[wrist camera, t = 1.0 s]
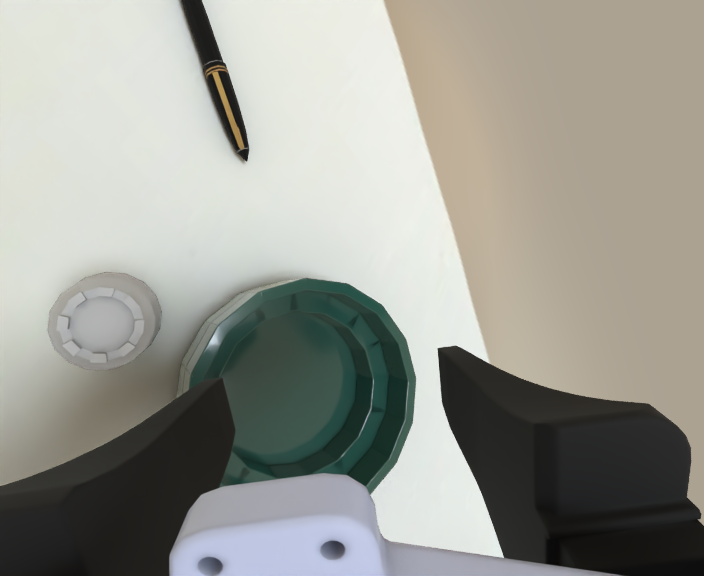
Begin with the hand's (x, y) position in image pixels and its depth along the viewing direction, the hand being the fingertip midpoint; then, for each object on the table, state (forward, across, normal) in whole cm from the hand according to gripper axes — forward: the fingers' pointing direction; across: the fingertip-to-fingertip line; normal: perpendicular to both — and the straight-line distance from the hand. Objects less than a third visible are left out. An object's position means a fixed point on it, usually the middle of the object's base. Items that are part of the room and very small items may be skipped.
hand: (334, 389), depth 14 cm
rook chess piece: (+8, +11, -1) cm, 14 cm away
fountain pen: (+15, +6, -14) cm, 21 cm away
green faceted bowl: (+10, +4, +5) cm, 12 cm away
